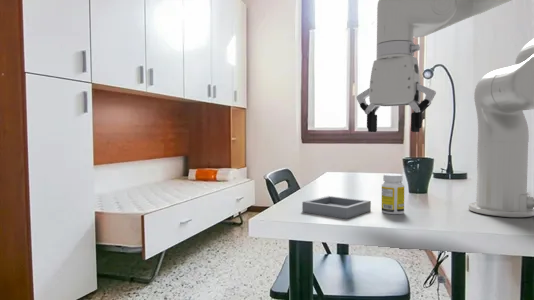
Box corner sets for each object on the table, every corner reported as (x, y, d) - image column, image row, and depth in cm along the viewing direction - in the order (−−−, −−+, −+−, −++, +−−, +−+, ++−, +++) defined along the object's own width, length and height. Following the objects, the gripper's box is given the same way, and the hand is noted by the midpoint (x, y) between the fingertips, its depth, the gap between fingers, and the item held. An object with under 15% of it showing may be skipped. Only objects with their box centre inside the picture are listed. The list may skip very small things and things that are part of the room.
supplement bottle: (401, 210, 86) (401, 173, 86) (406, 215, 82) (407, 175, 81) (379, 210, 87) (379, 173, 86) (383, 214, 82) (384, 175, 82)
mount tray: (370, 210, 86) (370, 201, 86) (346, 218, 78) (346, 208, 78) (328, 204, 93) (328, 196, 93) (302, 211, 85) (302, 201, 85)
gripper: (441, 50, 80) (439, 132, 81) (365, 60, 91) (364, 132, 92) (430, 44, 74) (428, 131, 75) (350, 55, 86) (349, 131, 86)
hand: (393, 131), depth 83 cm, fingers open, 9 cm apart
